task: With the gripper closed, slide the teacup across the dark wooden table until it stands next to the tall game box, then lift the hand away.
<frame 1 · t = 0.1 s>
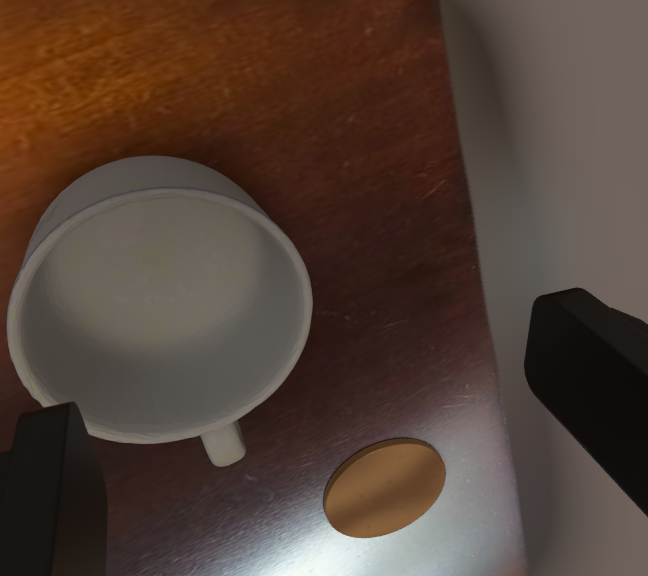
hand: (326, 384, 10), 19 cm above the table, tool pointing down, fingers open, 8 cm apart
teacup: (165, 270, 29), on the table
coaster: (384, 486, 41), on the table
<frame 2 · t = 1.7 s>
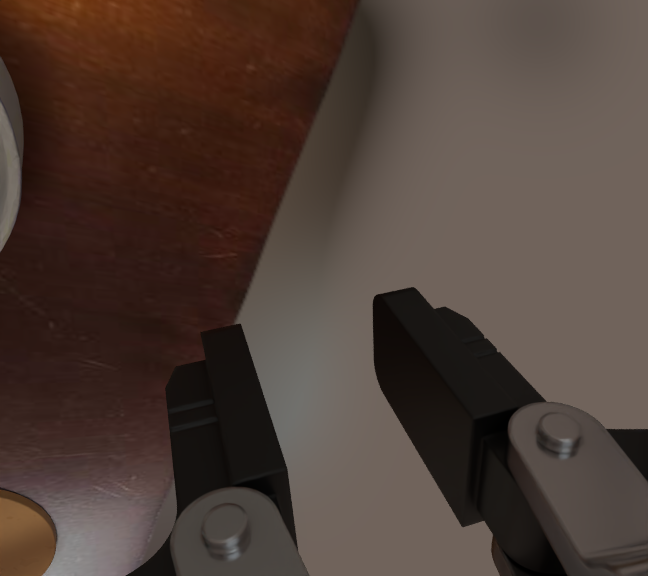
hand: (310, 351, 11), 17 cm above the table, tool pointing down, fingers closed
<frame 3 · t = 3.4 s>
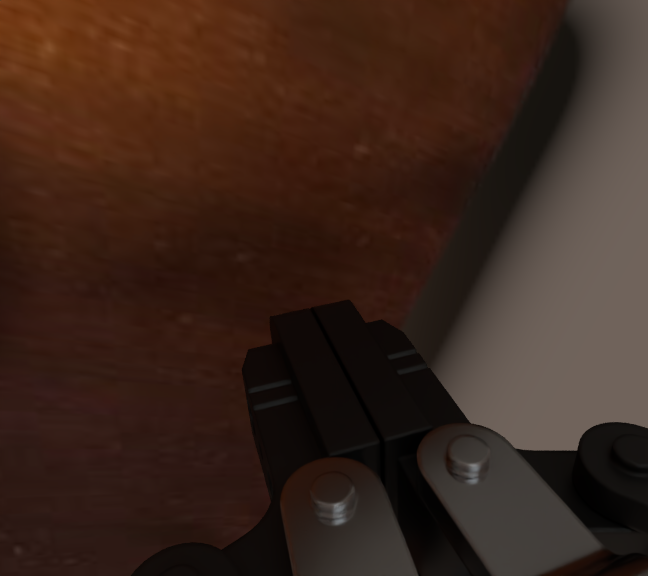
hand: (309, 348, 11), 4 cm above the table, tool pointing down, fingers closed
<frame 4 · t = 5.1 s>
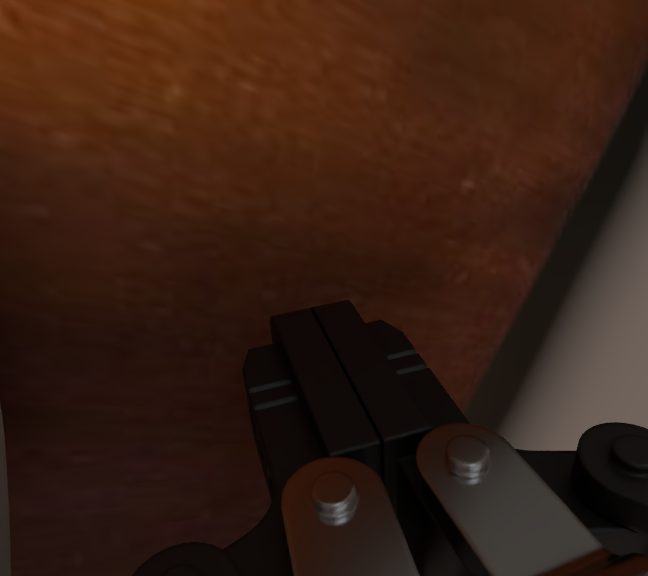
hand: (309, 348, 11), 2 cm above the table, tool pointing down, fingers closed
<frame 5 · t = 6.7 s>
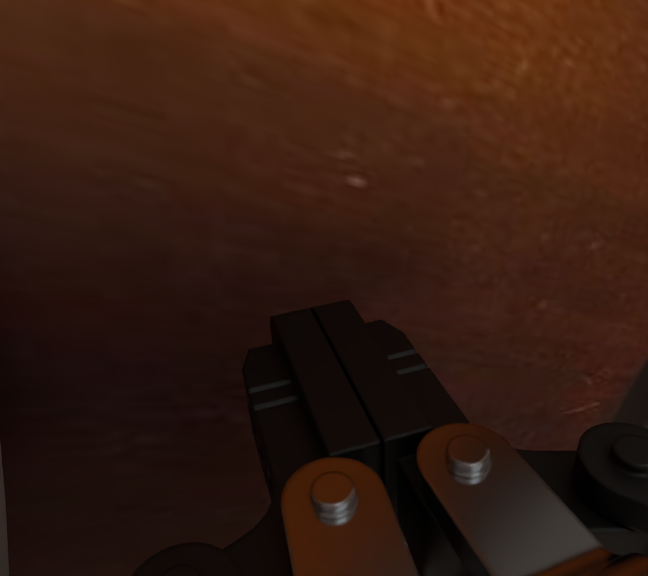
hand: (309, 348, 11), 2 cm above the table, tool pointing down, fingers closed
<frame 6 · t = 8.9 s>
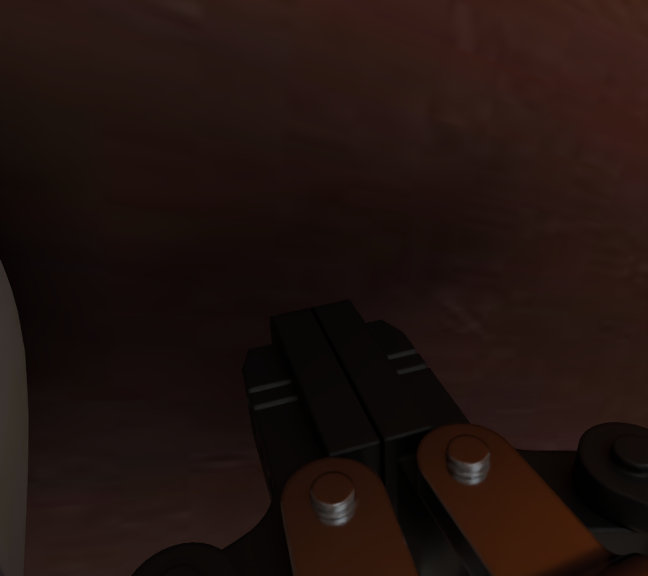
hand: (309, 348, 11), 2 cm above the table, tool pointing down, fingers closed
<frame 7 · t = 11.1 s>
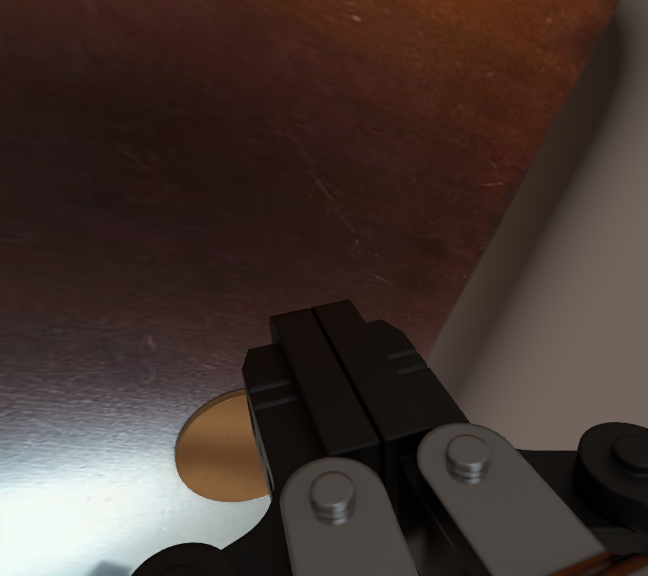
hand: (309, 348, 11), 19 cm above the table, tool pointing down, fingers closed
coaster: (247, 444, 38), on the table
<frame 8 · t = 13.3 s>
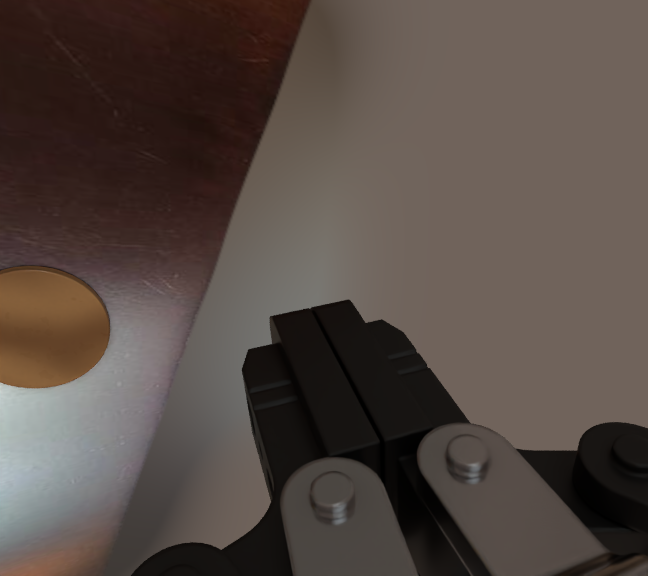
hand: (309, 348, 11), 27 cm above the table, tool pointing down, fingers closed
coaster: (36, 327, 38), on the table
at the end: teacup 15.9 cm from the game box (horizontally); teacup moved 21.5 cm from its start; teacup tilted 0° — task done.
